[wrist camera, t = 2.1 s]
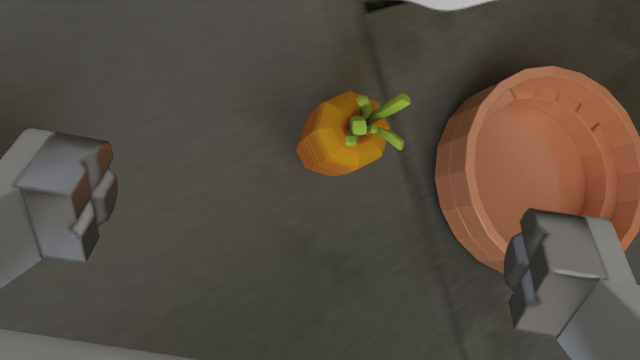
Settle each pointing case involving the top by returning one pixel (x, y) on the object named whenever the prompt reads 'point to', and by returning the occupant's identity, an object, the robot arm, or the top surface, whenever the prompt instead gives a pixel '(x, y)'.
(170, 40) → the top surface
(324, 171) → the carrot
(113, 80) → the top surface
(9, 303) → the top surface
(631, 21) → the top surface
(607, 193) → the pot
